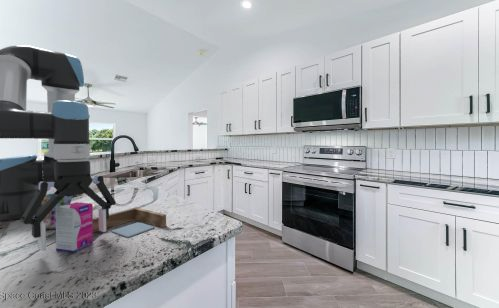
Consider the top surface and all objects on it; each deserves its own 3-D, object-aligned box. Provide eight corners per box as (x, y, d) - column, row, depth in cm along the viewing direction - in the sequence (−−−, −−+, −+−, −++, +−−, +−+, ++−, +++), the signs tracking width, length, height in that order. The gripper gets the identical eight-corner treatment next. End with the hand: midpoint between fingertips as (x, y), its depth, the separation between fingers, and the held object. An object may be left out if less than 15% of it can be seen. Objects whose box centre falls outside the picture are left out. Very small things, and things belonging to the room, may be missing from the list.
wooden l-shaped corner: (77, 235, 67) (76, 222, 67) (136, 217, 84) (136, 207, 84) (106, 248, 59) (106, 233, 59) (166, 226, 75) (165, 214, 75)
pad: (111, 231, 70) (111, 230, 70) (138, 223, 78) (138, 222, 78) (127, 238, 65) (127, 236, 65) (154, 228, 73) (154, 227, 73)
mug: (79, 224, 77) (78, 194, 76) (44, 233, 69) (43, 199, 68) (66, 218, 83) (65, 190, 83) (32, 226, 75) (31, 195, 75)
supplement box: (74, 253, 56) (72, 208, 56) (55, 250, 58) (53, 207, 57) (94, 243, 62) (93, 202, 62) (76, 241, 63) (75, 201, 63)
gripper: (9, 164, 46) (13, 264, 47) (127, 158, 68) (128, 227, 68) (-1, 163, 50) (3, 255, 51) (113, 157, 71) (115, 222, 72)
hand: (75, 239), depth 60 cm, fingers open, 13 cm apart
